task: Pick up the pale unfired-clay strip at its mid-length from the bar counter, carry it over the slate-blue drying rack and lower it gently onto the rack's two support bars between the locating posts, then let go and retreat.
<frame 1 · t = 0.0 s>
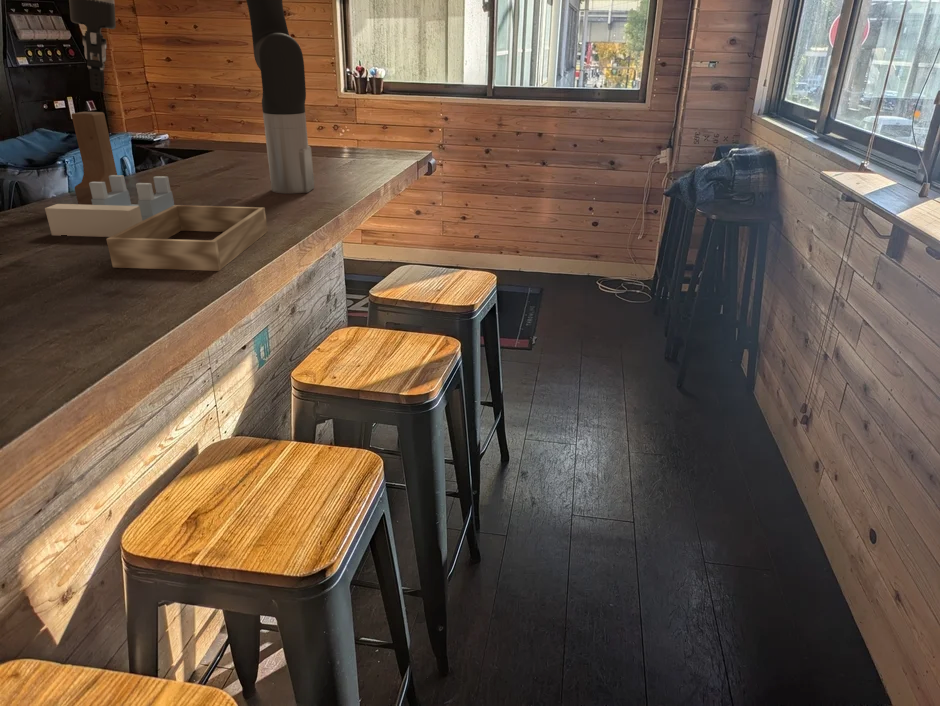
hand: (97, 90, 128), 22 cm above the countertop, tool pointing down, fingers open, 8 cm apart
rack: (136, 215, 129), on the countertop
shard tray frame: (197, 248, 109), on the countertop
clay strip: (99, 234, 117), on the countertop
wooden block: (101, 205, 137), on the countertop
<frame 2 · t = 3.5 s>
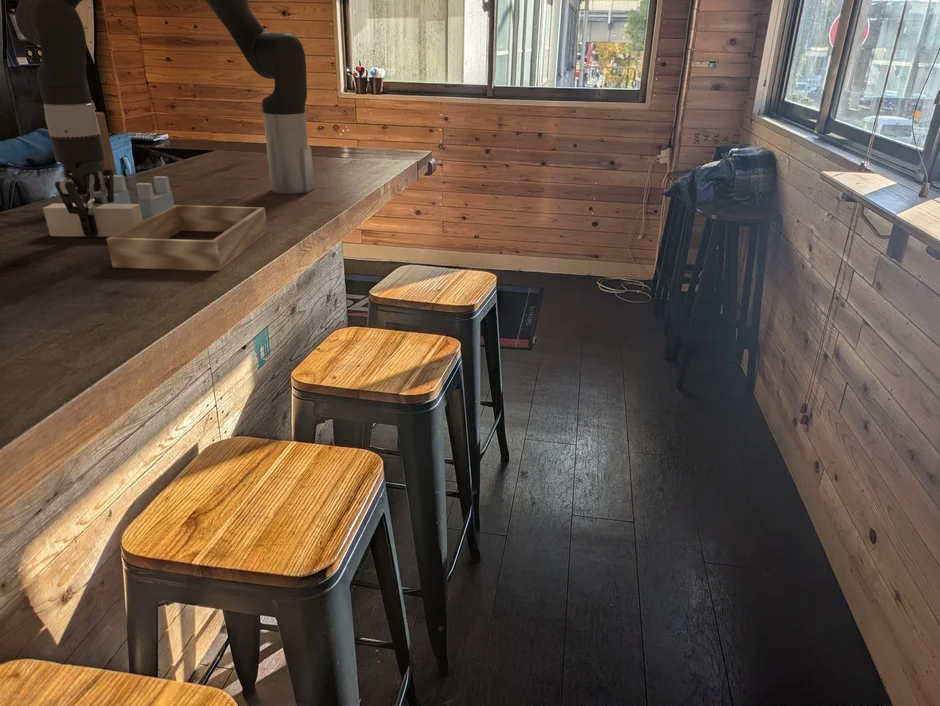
hand: (98, 231, 116), 0 cm above the countertop, tool pointing down, fingers closed on clay strip, 3 cm apart
clay strip: (98, 233, 116), on the countertop, touching gripper
everything else where it was.
when the fingers open (5 cm above the countertop, at t = 8.5 s): clay strip stays where it is, resting on rack.
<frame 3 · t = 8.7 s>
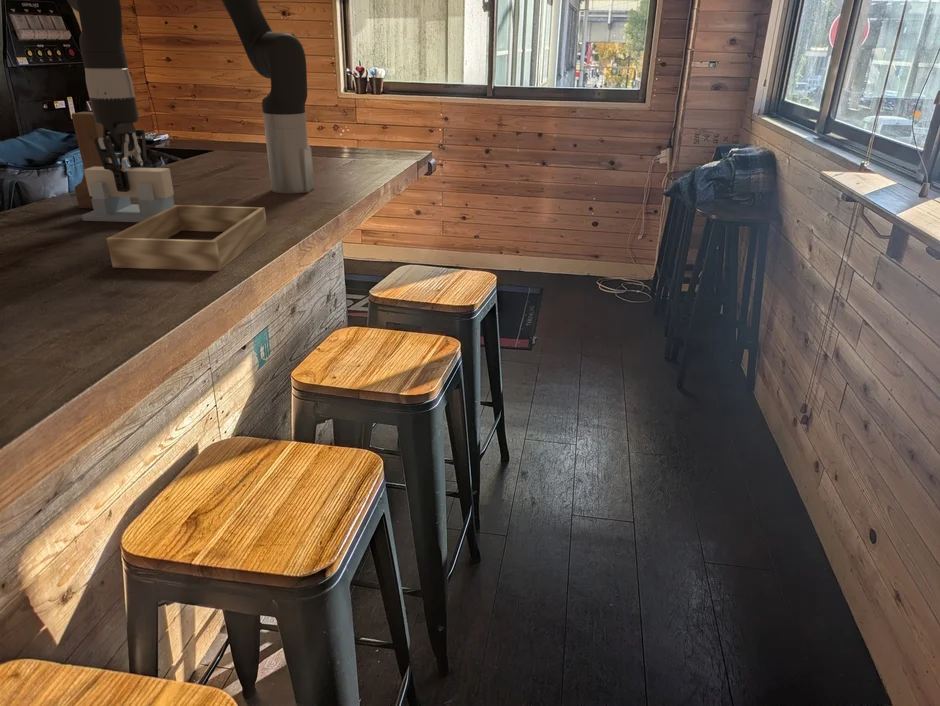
hand: (131, 188, 126), 5 cm above the countertop, tool pointing down, fingers open, 5 cm apart
clay strip: (132, 195, 127), point 4 cm above the countertop, touching rack
everything else where it was.
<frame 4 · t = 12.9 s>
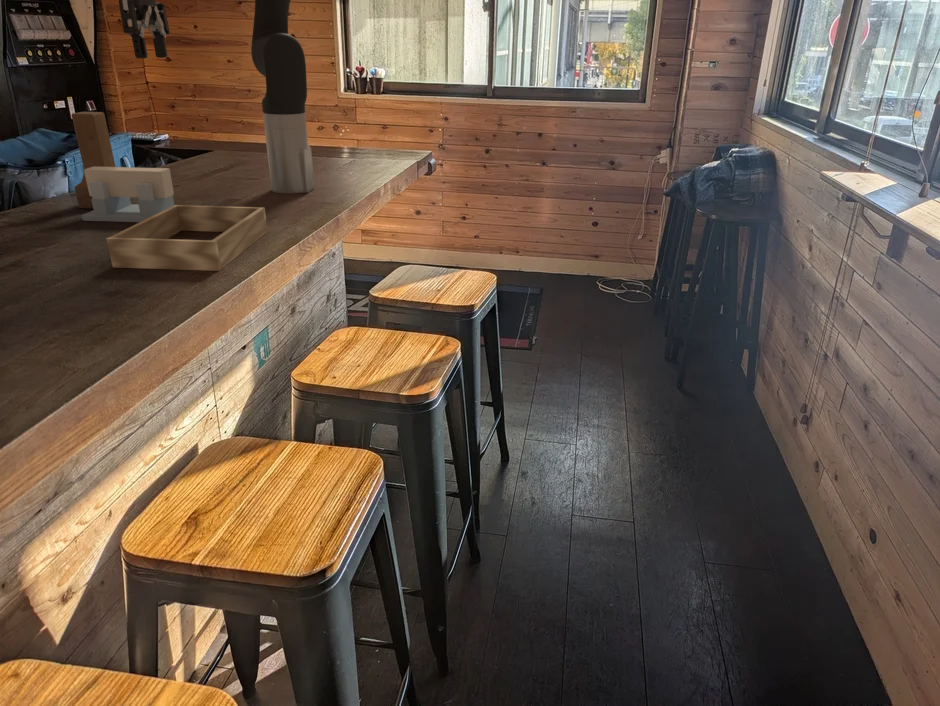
hand: (152, 57, 134), 28 cm above the countertop, tool pointing down, fingers open, 8 cm apart
nothing on the countertop moved.
at the end: clay strip 0.1 cm off-centre on the rack, point 4.0 cm above the rack's base; clay strip tilted 0°; the gripper is holding nothing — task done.
